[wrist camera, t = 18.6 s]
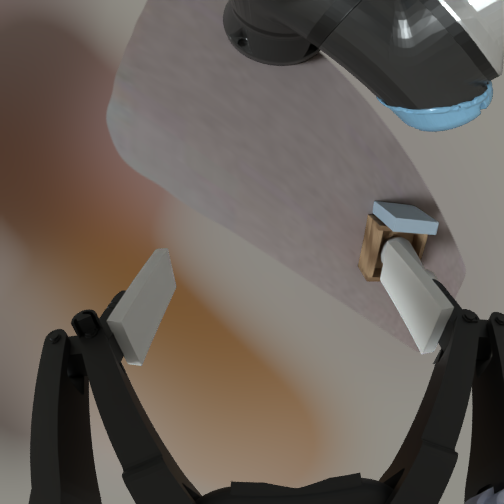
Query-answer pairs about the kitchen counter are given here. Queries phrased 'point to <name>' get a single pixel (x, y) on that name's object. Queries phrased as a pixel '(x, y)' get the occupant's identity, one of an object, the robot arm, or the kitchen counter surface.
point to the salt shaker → (409, 248)
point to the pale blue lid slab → (405, 218)
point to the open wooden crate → (373, 244)
